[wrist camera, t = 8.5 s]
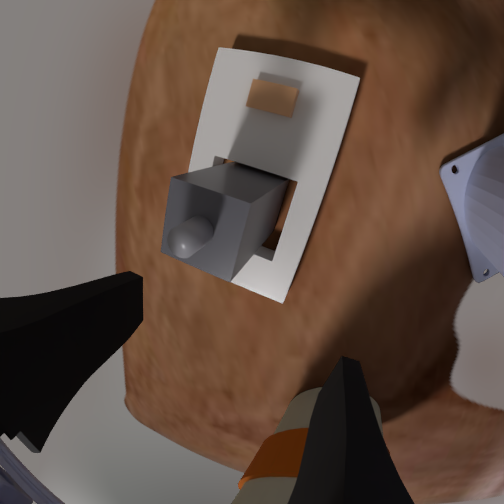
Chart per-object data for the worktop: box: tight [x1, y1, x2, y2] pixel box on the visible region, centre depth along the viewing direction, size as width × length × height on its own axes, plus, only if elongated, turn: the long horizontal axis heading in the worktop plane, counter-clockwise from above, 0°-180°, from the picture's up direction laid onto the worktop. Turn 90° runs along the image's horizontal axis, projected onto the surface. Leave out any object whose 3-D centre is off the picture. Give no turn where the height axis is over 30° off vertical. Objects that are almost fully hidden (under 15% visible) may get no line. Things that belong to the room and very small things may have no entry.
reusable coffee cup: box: [231, 387, 390, 504], centre depth 16 cm, size 13×13×15 cm
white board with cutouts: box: [188, 47, 360, 303], centre depth 16 cm, size 14×8×2 cm, turn 165°
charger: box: [161, 162, 289, 282], centre depth 14 cm, size 4×4×8 cm
